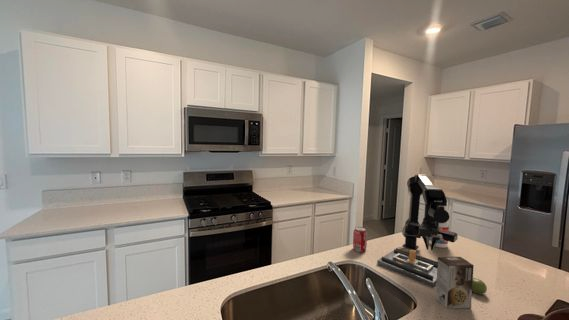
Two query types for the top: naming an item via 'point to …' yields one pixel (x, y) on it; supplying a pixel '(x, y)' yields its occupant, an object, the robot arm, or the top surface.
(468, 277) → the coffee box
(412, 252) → the breaker lever
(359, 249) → the soda can
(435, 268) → the panel
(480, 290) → the pear
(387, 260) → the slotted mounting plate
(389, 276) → the top surface
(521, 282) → the top surface
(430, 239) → the fruit juice
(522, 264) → the top surface
